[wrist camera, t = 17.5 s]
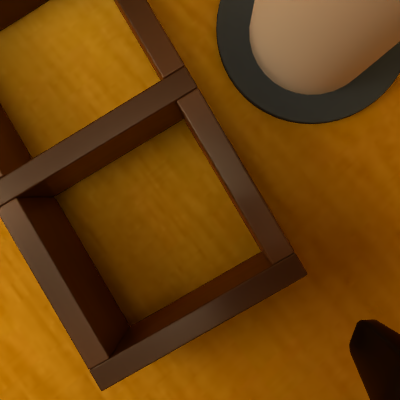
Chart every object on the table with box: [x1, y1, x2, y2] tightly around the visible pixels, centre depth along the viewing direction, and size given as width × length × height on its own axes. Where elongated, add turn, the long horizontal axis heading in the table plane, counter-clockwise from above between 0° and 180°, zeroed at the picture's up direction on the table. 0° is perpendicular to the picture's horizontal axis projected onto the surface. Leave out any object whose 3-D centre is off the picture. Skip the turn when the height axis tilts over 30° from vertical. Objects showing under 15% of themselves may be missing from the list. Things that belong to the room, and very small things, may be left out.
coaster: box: [216, 0, 400, 124], centre depth 20 cm, size 11×11×1 cm
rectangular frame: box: [0, 0, 307, 391], centre depth 18 cm, size 22×11×4 cm, turn 31°
